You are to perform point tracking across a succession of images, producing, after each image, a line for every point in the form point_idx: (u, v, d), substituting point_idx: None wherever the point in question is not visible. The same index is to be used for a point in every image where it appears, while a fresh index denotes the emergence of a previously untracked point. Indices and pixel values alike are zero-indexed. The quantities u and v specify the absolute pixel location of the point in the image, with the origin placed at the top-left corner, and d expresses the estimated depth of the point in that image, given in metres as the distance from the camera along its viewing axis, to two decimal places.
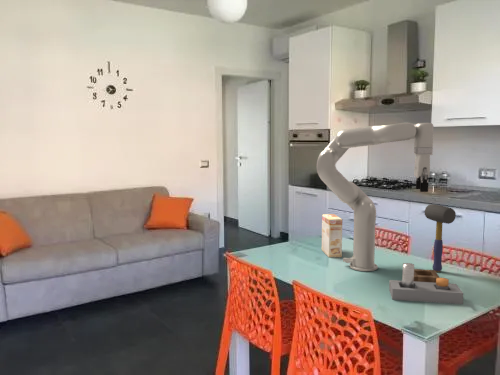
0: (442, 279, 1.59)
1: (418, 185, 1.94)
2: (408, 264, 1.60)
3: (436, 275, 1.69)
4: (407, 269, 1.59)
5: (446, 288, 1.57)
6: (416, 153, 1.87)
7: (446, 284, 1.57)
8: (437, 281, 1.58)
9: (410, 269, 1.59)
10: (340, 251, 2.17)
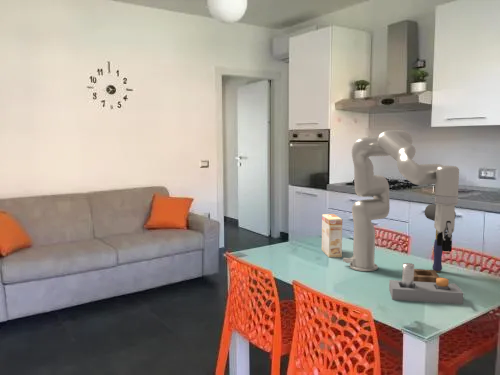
0: (442, 279, 1.59)
1: (440, 241, 1.61)
2: (408, 264, 1.60)
3: (436, 275, 1.69)
4: (407, 269, 1.59)
5: (446, 288, 1.57)
6: (438, 202, 1.54)
7: (446, 284, 1.57)
8: (437, 281, 1.58)
9: (410, 269, 1.59)
10: (340, 251, 2.17)
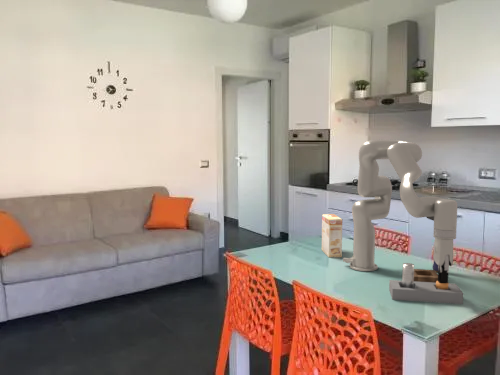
0: None
1: None
2: (408, 264, 1.60)
3: (436, 275, 1.69)
4: (407, 269, 1.59)
5: None
6: (436, 236, 1.55)
7: (446, 287, 1.57)
8: (437, 284, 1.58)
9: (410, 269, 1.59)
10: (340, 251, 2.17)
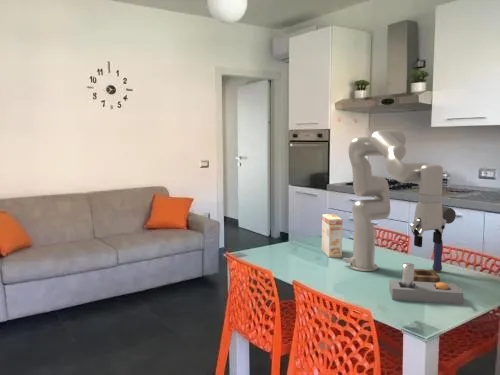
0: (442, 284, 1.59)
1: (435, 238, 1.61)
2: (408, 264, 1.60)
3: (436, 275, 1.69)
4: (407, 269, 1.59)
5: None
6: None
7: (446, 289, 1.57)
8: (437, 286, 1.58)
9: (410, 269, 1.59)
10: (340, 251, 2.17)
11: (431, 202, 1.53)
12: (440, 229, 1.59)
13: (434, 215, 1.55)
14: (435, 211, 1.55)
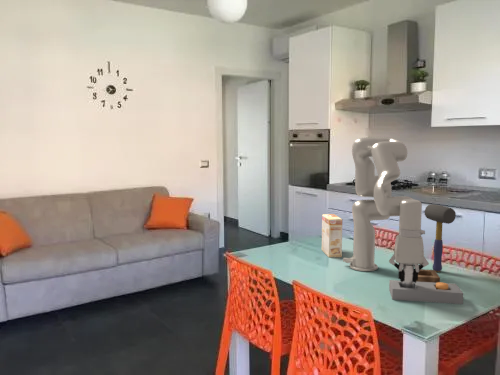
0: (442, 284, 1.59)
1: None
2: (408, 264, 1.60)
3: (436, 275, 1.69)
4: (407, 269, 1.59)
5: None
6: None
7: (446, 289, 1.57)
8: (437, 286, 1.58)
9: (410, 269, 1.59)
10: (340, 251, 2.17)
11: (403, 236, 1.57)
12: (417, 267, 1.59)
13: (409, 249, 1.57)
14: (410, 246, 1.57)
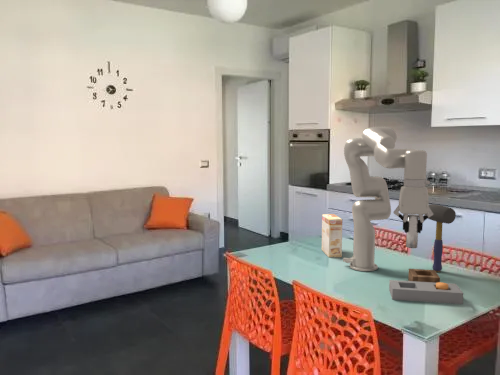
0: (442, 284, 1.59)
1: None
2: (412, 215, 1.60)
3: (436, 275, 1.69)
4: (412, 220, 1.59)
5: None
6: None
7: (446, 289, 1.57)
8: (437, 286, 1.58)
9: (415, 219, 1.58)
10: (340, 251, 2.17)
11: (408, 186, 1.57)
12: (421, 217, 1.58)
13: (413, 199, 1.57)
14: (415, 196, 1.57)
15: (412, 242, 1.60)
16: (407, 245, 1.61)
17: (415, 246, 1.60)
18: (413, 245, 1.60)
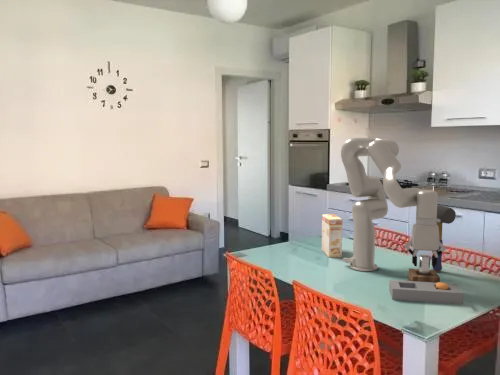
0: (442, 284, 1.59)
1: (432, 261, 1.72)
2: (425, 256, 1.71)
3: (436, 275, 1.69)
4: (424, 260, 1.70)
5: None
6: None
7: (446, 289, 1.57)
8: (437, 286, 1.58)
9: (427, 260, 1.69)
10: (340, 251, 2.17)
11: (420, 224, 1.68)
12: (435, 253, 1.69)
13: (425, 236, 1.68)
14: (427, 233, 1.68)
15: None
16: None
17: None
18: None
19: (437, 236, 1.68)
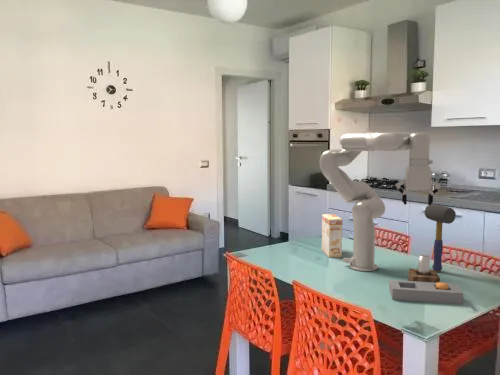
0: (442, 284, 1.59)
1: (428, 200, 1.78)
2: (424, 256, 1.71)
3: (436, 275, 1.69)
4: (423, 260, 1.70)
5: None
6: None
7: (446, 289, 1.57)
8: (437, 286, 1.58)
9: (426, 260, 1.70)
10: (340, 251, 2.17)
11: (413, 165, 1.74)
12: (430, 191, 1.75)
13: (418, 177, 1.75)
14: (420, 174, 1.74)
15: None
16: None
17: None
18: None
19: (429, 176, 1.74)
